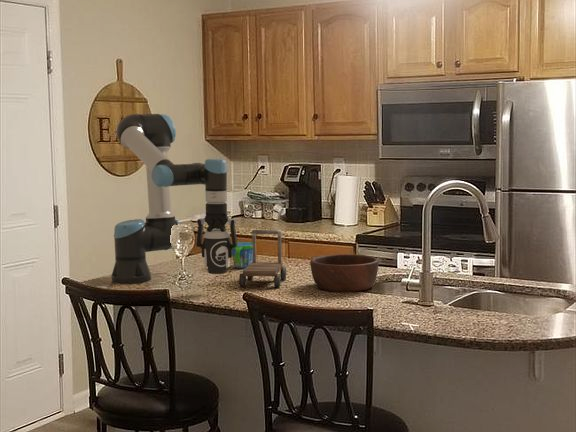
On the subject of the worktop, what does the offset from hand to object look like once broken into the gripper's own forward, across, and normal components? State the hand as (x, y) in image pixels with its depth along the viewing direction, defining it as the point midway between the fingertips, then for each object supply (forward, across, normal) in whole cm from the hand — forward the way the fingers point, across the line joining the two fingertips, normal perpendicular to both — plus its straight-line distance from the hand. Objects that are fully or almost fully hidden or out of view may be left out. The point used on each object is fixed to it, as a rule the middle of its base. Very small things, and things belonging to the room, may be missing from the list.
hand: (217, 266), depth 275 cm
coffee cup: (+2, 0, 0) cm, 2 cm away
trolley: (+9, +14, +18) cm, 24 cm away
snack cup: (+10, -2, +51) cm, 52 cm away
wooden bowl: (+9, +44, +14) cm, 47 cm away
